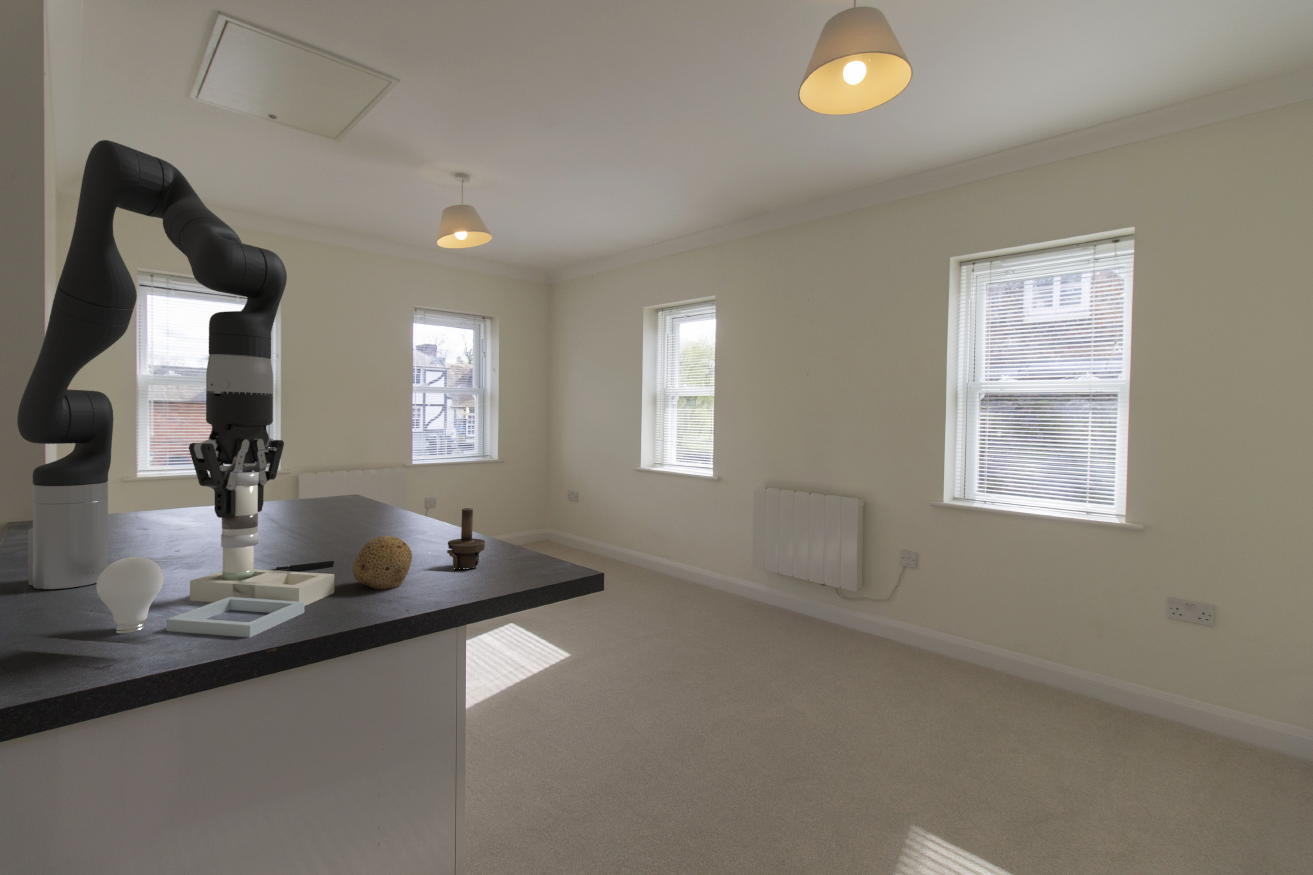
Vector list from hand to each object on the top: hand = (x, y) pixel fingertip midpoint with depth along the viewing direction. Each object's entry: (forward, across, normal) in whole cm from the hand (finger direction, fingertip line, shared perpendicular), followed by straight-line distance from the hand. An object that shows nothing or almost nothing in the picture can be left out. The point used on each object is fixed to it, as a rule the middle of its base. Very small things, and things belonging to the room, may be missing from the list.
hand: (239, 514), depth 82 cm
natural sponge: (+17, -20, +9) cm, 28 cm away
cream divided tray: (+16, -10, -5) cm, 20 cm away
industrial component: (+17, -40, +16) cm, 46 cm away
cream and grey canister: (+4, 0, 0) cm, 4 cm away
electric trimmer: (+17, -24, -12) cm, 32 cm away
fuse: (+15, -10, -10) cm, 21 cm away
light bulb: (+17, +5, -11) cm, 21 cm away
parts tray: (+16, 0, 0) cm, 16 cm away
